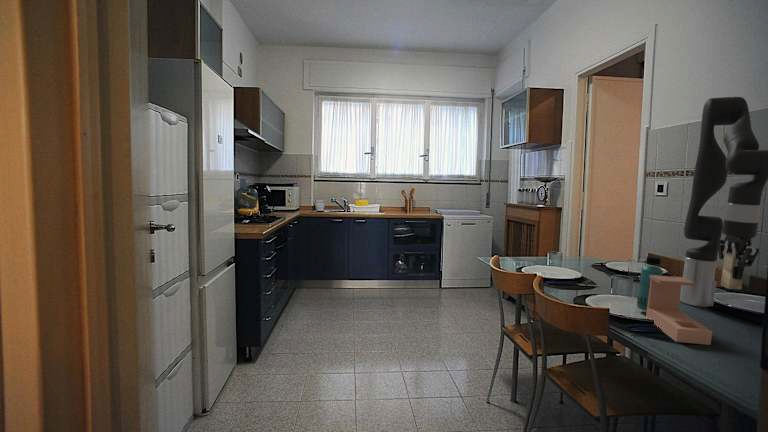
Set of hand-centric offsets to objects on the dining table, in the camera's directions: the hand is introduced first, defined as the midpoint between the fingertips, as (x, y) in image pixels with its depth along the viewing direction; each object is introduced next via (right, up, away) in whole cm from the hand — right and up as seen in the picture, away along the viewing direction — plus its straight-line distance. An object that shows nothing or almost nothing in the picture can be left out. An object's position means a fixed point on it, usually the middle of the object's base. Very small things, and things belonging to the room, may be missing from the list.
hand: (732, 276), depth 118 cm
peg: (0, -3, 0) cm, 3 cm away
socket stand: (-12, -18, +6) cm, 22 cm away
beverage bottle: (-11, -16, +21) cm, 29 cm away
